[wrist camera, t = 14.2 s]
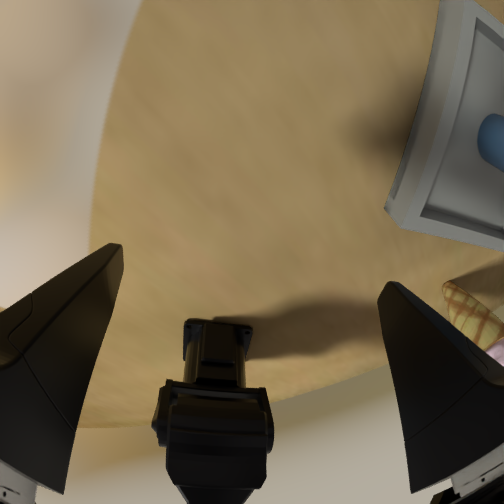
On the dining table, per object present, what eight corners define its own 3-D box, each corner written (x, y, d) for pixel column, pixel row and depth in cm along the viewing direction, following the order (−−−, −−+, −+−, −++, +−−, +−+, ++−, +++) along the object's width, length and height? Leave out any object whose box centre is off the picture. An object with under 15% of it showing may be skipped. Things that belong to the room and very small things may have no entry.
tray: (496, 238, 24) (512, 254, 21) (383, 208, 22) (400, 228, 19) (547, 88, 14) (568, 96, 11) (440, -3, 12) (465, -6, 9)
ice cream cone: (468, 292, 28) (529, 393, 16) (426, 318, 30) (478, 428, 18) (465, 254, 25) (546, 367, 12) (418, 283, 26) (486, 412, 14)
